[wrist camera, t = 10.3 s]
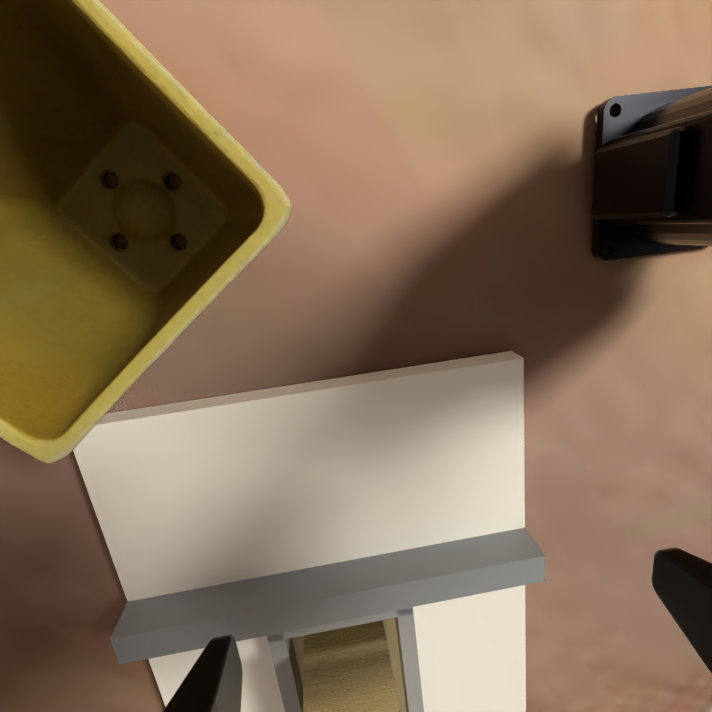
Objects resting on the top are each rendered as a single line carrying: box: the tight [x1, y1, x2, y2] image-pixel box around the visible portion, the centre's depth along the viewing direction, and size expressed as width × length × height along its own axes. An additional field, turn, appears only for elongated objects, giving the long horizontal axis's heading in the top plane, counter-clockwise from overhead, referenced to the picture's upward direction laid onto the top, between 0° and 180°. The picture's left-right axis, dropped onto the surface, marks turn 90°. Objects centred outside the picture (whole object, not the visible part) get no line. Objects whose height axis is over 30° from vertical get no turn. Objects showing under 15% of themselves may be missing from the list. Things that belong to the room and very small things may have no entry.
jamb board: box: [73, 351, 545, 712], centre depth 22 cm, size 20×23×3 cm
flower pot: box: [0, 0, 291, 463], centre depth 13 cm, size 9×9×9 cm
